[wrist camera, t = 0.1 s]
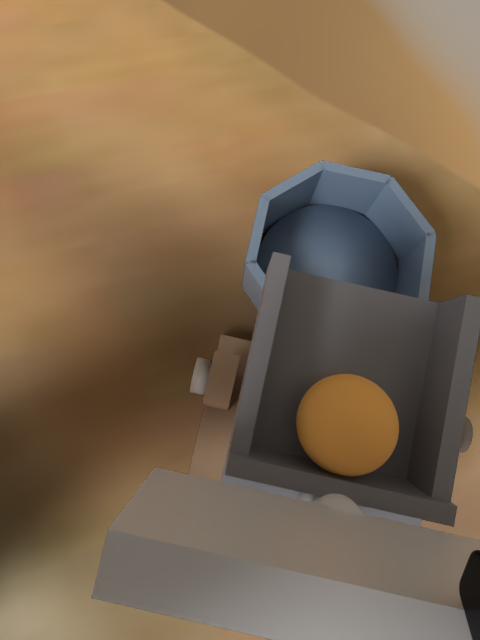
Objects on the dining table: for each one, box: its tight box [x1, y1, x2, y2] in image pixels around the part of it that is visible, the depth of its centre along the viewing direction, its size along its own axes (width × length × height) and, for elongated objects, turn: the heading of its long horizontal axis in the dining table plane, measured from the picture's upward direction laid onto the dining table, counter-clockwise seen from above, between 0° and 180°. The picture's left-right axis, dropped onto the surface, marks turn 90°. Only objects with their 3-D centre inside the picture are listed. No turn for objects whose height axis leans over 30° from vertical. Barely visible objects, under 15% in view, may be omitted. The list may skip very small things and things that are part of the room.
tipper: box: [92, 252, 480, 640], centre depth 12 cm, size 10×11×8 cm
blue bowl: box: [242, 160, 437, 310], centre depth 23 cm, size 9×9×4 cm
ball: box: [296, 374, 399, 476], centre depth 14 cm, size 3×3×3 cm
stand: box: [188, 334, 473, 482], centre depth 20 cm, size 8×11×7 cm
